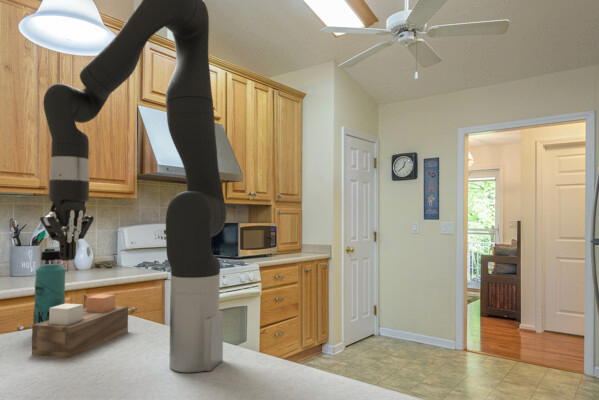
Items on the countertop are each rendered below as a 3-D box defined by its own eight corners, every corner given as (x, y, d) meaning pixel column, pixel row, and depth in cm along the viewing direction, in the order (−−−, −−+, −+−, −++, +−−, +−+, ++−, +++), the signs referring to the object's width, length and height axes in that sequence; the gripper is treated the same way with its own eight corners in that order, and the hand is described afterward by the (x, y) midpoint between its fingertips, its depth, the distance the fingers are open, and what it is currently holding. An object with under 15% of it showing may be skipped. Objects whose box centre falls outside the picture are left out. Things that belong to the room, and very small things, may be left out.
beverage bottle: (46, 329, 102) (48, 249, 102) (71, 330, 101) (73, 249, 101) (25, 337, 95) (28, 251, 96) (51, 338, 94) (53, 252, 95)
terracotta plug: (115, 315, 99) (115, 294, 99) (102, 320, 95) (103, 298, 95) (99, 314, 100) (99, 294, 100) (86, 318, 96) (86, 297, 96)
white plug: (82, 327, 88) (82, 304, 89) (67, 333, 84) (67, 309, 84) (64, 326, 89) (65, 303, 90) (48, 332, 85) (49, 307, 85)
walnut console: (127, 331, 100) (128, 306, 101) (69, 357, 82) (70, 327, 82) (95, 329, 102) (96, 305, 102) (31, 354, 84) (32, 325, 84)
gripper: (60, 176, 81) (58, 264, 80) (105, 181, 94) (103, 257, 93) (28, 176, 82) (26, 263, 81) (77, 182, 95) (75, 256, 95)
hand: (67, 260), depth 87 cm, fingers closed
